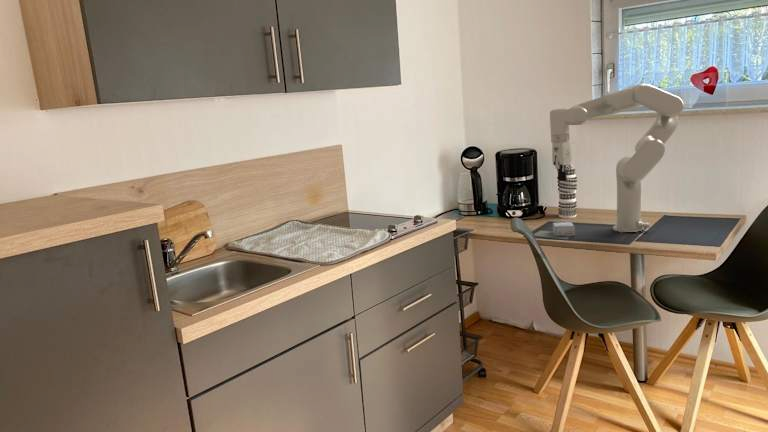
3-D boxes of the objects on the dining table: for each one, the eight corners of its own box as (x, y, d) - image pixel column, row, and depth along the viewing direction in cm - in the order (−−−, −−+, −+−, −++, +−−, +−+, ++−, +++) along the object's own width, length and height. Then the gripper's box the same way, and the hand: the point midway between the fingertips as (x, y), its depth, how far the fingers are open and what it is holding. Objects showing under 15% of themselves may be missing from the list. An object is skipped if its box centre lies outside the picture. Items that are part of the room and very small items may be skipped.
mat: (575, 234, 262) (575, 234, 262) (566, 239, 256) (566, 239, 256) (540, 231, 273) (540, 230, 273) (531, 235, 266) (531, 235, 266)
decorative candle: (571, 218, 290) (570, 166, 285) (554, 216, 297) (553, 165, 292) (581, 215, 296) (580, 163, 291) (564, 213, 303) (563, 163, 297)
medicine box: (570, 221, 267) (574, 225, 258) (570, 231, 268) (575, 236, 259) (552, 222, 267) (555, 226, 259) (552, 232, 268) (556, 237, 260)
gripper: (561, 140, 252) (564, 184, 256) (575, 135, 263) (577, 177, 267) (544, 141, 256) (547, 183, 260) (558, 136, 268) (560, 177, 272)
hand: (562, 180), depth 264 cm, fingers closed
